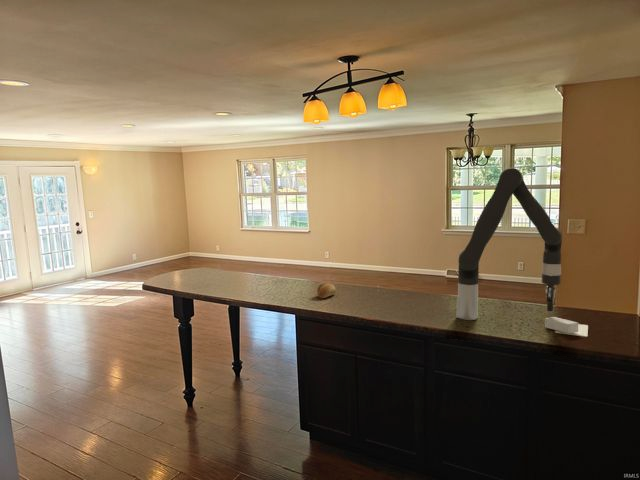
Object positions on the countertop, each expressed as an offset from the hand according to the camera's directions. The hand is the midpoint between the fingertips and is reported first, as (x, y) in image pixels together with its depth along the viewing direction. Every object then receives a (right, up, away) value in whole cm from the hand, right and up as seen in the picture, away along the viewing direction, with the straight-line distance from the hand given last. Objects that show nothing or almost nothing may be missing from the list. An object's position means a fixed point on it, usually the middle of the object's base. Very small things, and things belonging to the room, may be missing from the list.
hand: (550, 310), depth 194 cm
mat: (+8, -8, -4) cm, 11 cm away
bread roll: (-100, -2, +63) cm, 118 cm away
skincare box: (0, -5, 0) cm, 5 cm away
